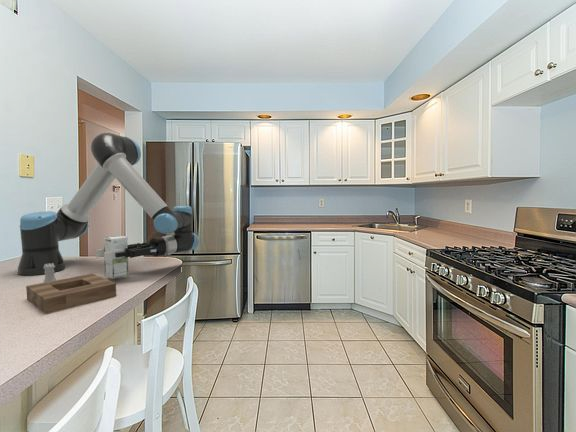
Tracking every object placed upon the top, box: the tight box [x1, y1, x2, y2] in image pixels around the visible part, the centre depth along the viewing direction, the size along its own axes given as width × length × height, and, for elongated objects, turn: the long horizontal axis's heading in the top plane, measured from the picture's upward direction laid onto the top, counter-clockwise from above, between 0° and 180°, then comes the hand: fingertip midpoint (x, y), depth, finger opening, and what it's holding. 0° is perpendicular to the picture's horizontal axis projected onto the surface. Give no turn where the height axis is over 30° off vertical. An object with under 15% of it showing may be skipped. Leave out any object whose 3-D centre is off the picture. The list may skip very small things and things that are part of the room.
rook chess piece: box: [42, 263, 57, 283], centre depth 107 cm, size 4×4×8 cm
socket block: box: [25, 273, 117, 315], centre depth 98 cm, size 18×18×4 cm
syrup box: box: [103, 235, 129, 280], centre depth 116 cm, size 6×6×14 cm
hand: (100, 255), depth 112 cm, fingers closed on syrup box, 6 cm apart
